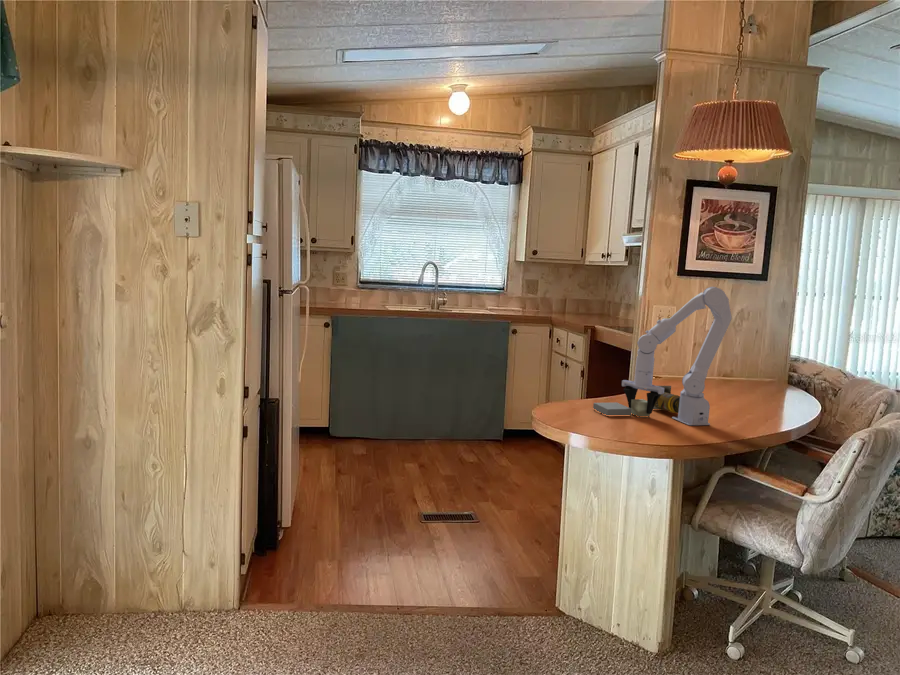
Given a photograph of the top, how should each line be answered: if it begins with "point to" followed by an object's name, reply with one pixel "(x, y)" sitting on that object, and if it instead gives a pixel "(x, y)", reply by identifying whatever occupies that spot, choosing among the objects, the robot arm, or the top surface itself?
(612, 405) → the plate
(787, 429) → the top surface
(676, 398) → the condiment
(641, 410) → the sage block
